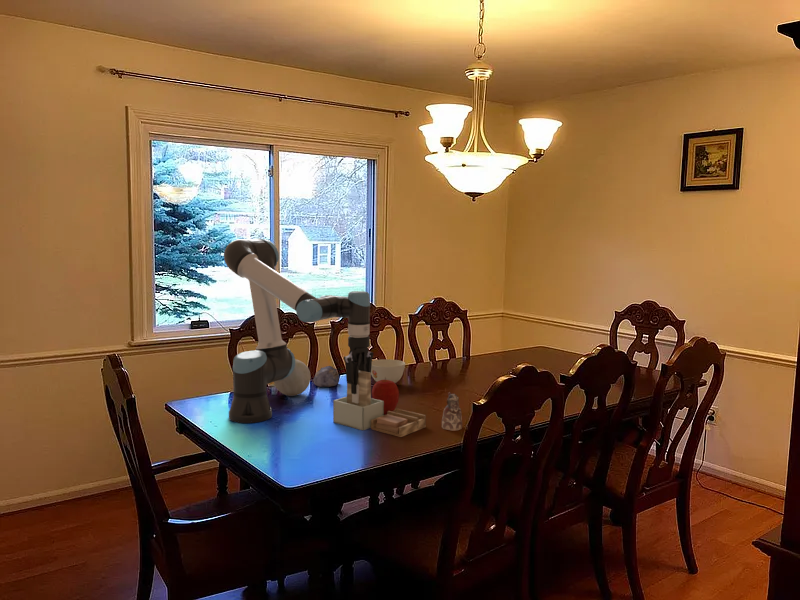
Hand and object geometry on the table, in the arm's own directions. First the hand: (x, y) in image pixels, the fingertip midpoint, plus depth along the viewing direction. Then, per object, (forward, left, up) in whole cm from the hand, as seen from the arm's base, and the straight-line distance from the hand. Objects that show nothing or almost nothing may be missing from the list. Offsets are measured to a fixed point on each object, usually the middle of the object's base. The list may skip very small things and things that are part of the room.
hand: (358, 401), depth 219 cm
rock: (+31, +47, -8) cm, 57 cm away
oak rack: (+4, -14, -8) cm, 17 cm away
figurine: (+17, -28, -8) cm, 34 cm away
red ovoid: (+15, 0, -8) cm, 17 cm away
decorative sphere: (+10, +46, -8) cm, 47 cm away
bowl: (+48, +27, -8) cm, 56 cm away
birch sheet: (0, 0, -5) cm, 5 cm away
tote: (0, 0, -8) cm, 8 cm away
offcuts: (+2, -14, -7) cm, 16 cm away
